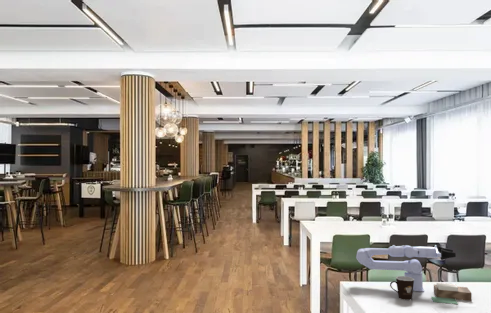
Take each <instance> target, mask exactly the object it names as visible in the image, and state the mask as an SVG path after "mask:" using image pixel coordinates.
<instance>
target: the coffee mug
mask: <svg viewBox="0 0 491 313" xmlns="http://www.w3.org/2000/svg"><path fill="white" fill-rule="evenodd" d="M393 283H395V284H396V287H397V290H396V289H395V288H393V286H392V285H393ZM413 285H414V279H413V278H411V277H406V276H404V275H399V276H396V278H395V280H392V281H391V282H390V285H389V287H390V288H391V289H392V290H393V291H394V292H396V293H397V294H398V296H397V297H398V299H400V300H403V301H411V300H413V293H414V291H413Z"/></svg>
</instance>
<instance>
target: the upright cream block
mask: <svg viewBox="0 0 491 313" xmlns="http://www.w3.org/2000/svg"><path fill="white" fill-rule="evenodd" d="M436 285H437V288H438V290H448V291H458V287H459V286H457V284H455V283H444V282H436Z"/></svg>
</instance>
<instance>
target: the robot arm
mask: <svg viewBox="0 0 491 313" xmlns="http://www.w3.org/2000/svg"><path fill="white" fill-rule="evenodd" d="M378 255H379V256H380V255H389V256H390V257H396V258H397V257H399V258H400V257H401V258H403V257H406V258H409V259H410V260H404V261H402V260H400V261H399V260H374V258H372V257H373V256H378ZM414 257H416V259H415V258H414ZM355 258H356V260H357V261H358V263H359V264H360V265H363V266H365V268H367V269H369V270H382V271H404V272H403V273H404V275H403V276H406V277H411V278H413V279H414V285H413V292H422V293H424V292H425V290H424V287H423V284H424V283H423V282H424V281H423V279H424V278H423V266H422V265H421V262H420V261H419V260H418V259H417V258H430V259H431V258H432V259H438V258H440V261H444V260H446V259H452V258H456V252H455V251H454V250H453V249H452V248H451V249H450V248H446V247H445V248H444V247H442V246H440V245H436V244H435V245H434V247H433V246H411V245H408V244H405V245H404V244H403V245H397V246H396V245H395V244H392V246H389V247H388V248H385V247H384V248H382V247H365V248H364V247H363V248H358V250H357V251H356V256H355ZM411 258H413V259H411Z"/></svg>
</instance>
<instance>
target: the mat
mask: <svg viewBox="0 0 491 313" xmlns="http://www.w3.org/2000/svg"><path fill="white" fill-rule="evenodd" d="M430 298H431V300H432V302H433V303H439V304H441V303H442V304H450V305H451V304H452V305H458V304H459V303H458V301H457V300H456V299H451V298H441V297H436V296H430Z"/></svg>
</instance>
